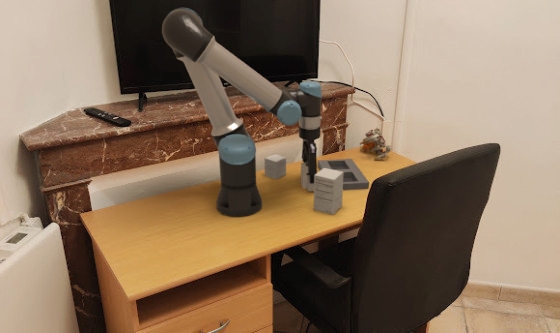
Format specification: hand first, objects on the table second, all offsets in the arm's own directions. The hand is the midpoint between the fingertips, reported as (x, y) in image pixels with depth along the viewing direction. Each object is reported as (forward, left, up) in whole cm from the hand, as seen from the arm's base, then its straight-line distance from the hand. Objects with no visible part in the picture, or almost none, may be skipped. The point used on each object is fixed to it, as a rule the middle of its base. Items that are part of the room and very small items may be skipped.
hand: (308, 184), depth 172 cm
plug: (0, 0, 0) cm, 0 cm away
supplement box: (+3, -19, 0) cm, 19 cm away
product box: (-11, +11, 0) cm, 16 cm away
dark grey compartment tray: (+14, +6, 0) cm, 15 cm away
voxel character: (+32, +26, 0) cm, 41 cm away
